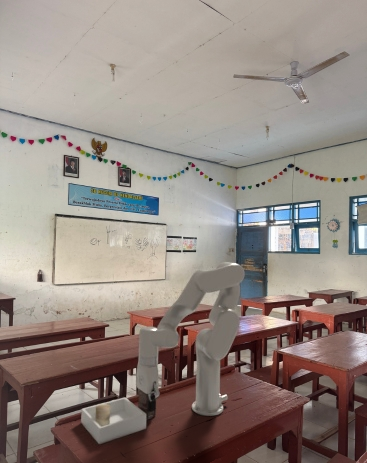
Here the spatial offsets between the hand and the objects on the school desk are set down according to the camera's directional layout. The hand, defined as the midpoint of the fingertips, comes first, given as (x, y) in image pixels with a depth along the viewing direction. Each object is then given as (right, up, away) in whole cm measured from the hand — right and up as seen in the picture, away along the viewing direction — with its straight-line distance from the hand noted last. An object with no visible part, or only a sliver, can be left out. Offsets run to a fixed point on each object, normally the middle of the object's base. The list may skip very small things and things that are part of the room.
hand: (146, 406), depth 132 cm
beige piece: (-15, -2, -11) cm, 18 cm away
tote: (-11, -3, -8) cm, 14 cm away
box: (0, -3, 0) cm, 3 cm away
